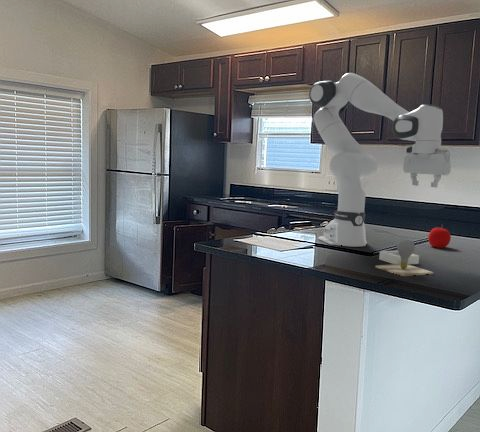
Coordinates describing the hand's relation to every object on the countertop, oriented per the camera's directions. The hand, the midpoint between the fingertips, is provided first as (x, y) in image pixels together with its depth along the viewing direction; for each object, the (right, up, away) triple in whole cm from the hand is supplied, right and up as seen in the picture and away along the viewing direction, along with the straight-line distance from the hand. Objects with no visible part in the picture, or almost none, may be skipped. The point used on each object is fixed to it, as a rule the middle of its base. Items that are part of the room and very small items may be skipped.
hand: (424, 186), depth 179 cm
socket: (-11, -28, -6) cm, 30 cm away
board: (-14, -29, -20) cm, 38 cm away
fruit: (+17, -25, +29) cm, 42 cm away
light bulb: (-14, -29, -20) cm, 38 cm away
